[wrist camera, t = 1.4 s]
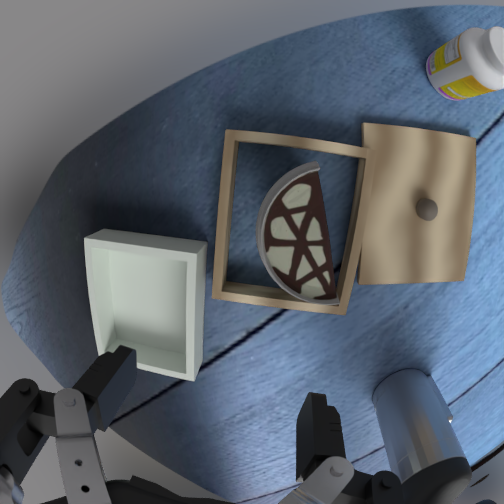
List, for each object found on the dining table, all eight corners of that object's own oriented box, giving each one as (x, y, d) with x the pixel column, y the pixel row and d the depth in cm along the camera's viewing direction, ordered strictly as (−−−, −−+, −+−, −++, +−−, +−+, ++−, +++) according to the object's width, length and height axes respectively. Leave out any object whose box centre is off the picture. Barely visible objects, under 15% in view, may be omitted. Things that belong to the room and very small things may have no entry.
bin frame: (368, 151, 30) (376, 150, 27) (341, 303, 35) (345, 315, 32) (230, 132, 31) (225, 129, 28) (217, 287, 36) (211, 298, 33)
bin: (207, 241, 35) (196, 253, 30) (202, 360, 40) (194, 381, 35) (104, 228, 36) (84, 237, 31) (113, 339, 41) (99, 356, 36)
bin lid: (471, 138, 27) (481, 137, 25) (460, 277, 33) (468, 284, 31) (361, 123, 29) (366, 121, 27) (357, 281, 34) (361, 288, 32)
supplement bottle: (475, 93, 26) (540, 79, 13) (440, 107, 27) (506, 92, 15) (451, 46, 24) (507, 14, 12) (414, 57, 26) (468, 20, 13)
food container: (251, 171, 32) (237, 176, 22) (308, 160, 31) (318, 160, 21) (273, 277, 35) (269, 321, 26) (326, 268, 34) (340, 309, 25)
